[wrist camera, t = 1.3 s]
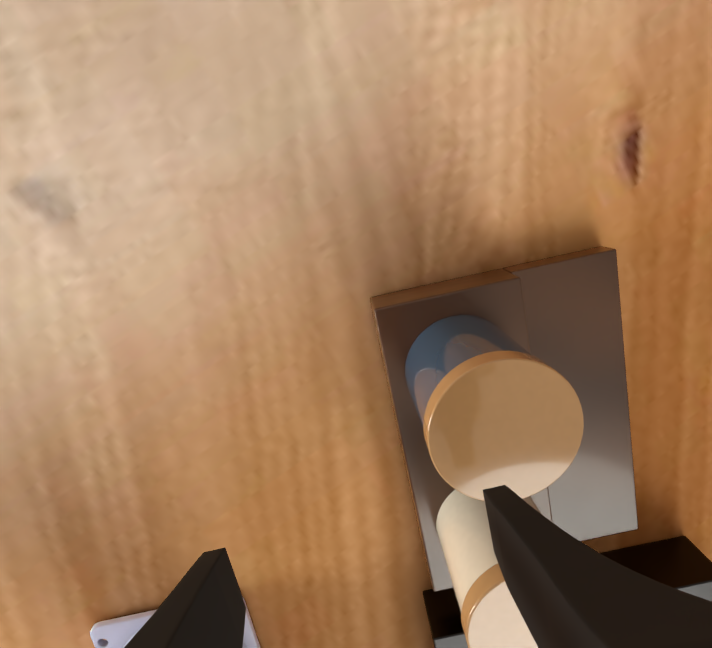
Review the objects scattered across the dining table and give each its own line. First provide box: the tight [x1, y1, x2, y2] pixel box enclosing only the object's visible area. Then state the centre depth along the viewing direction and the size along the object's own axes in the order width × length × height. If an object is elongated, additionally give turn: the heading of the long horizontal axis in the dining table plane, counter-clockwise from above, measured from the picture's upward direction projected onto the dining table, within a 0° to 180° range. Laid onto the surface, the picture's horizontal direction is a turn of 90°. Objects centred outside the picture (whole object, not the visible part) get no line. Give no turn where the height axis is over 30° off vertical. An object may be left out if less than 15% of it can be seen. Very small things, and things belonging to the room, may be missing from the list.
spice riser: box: [370, 246, 638, 592], centre depth 23 cm, size 14×10×2 cm
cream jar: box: [436, 489, 543, 648], centre depth 20 cm, size 5×5×6 cm
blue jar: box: [405, 315, 584, 501], centre depth 18 cm, size 5×5×6 cm
